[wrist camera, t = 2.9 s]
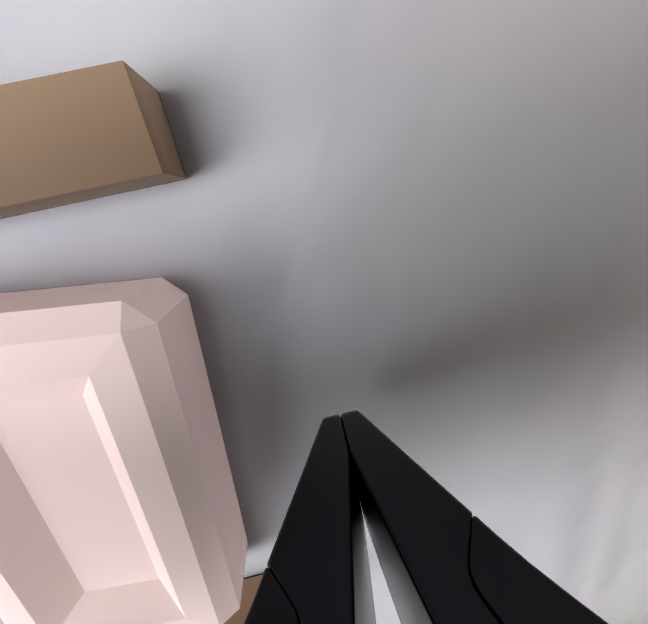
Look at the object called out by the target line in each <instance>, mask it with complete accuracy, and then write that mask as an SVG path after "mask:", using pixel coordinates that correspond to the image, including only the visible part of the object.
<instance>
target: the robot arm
mask: <svg viewBox="0 0 648 624" xmlns="http://www.w3.org/2000/svg"><path fill="white" fill-rule="evenodd" d="M357 490H358V491H357ZM359 499H360V500H359ZM360 503H361V504H360ZM361 507H362V509H361ZM362 511H363V514H362ZM363 515H364V519H365V522H366V525H367V528H368V531H369V534H370V537H371V539H372V542H373V545H374V548H375V551H376V554H377V556H378V559H379V562H380V565H381V568H382V571H383V574H384V576H385V579H386V582H387V585H388V588H389V591H390V593H391V596H392V599H393V602H394V605H395V608H396V611H397V613H398V616H399V619H400V622H401V624H608V623H607V622H606V621H604V620H603V619H602V618H600V617H599V616H598V615H596V614H595V613H594V612H592V611H591V610H590V609H589V608H587V607H586V606H585V605H583V604H582V603H581V602H579V601H578V600H577V599H575V598H574V597H573V596H571V595H570V594H569V593H568V592H566V591H565V590H564V589H562V588H561V587H560V586H559V585H557V584H556V583H555V582H553V581H552V580H551V579H550V578H548V577H547V576H546V575H544V574H543V573H542V572H541V571H539V570H538V569H537V568H536V567H534V566H533V565H532V564H530V563H529V562H528V561H527V560H526V559H525V558H523V557H522V556H521V555H520V554H519V553H518V552H516V551H515V550H514V549H513V548H512V547H510V546H509V545H508V544H507V543H506V542H505V541H503V540H502V539H501V538H500V537H499V536H498V535H496V534H495V533H494V532H493V531H492V530H491V529H490V528H489V527H487V526H486V525H485V524H484V523H483V522H482V521H481V520H480V519H479V518H477V517H476V516H473V517H472V513H471V512H470V511H469V510H468V509H467V508H466V507H465V506H464V505H463V504H462V503H460V502H459V501H458V500H457V499H456V498H455V497H454V496H453V495H451V494H450V493H449V492H448V491H447V490H446V489H445V488H444V487H443V486H441V485H440V484H439V483H438V482H437V481H436V480H435V479H434V478H432V477H431V476H430V475H429V474H428V473H427V472H426V471H425V470H423V469H422V468H421V467H420V466H419V465H418V464H417V463H416V462H415V461H413V460H412V459H411V458H410V457H409V456H408V455H407V454H406V453H404V452H403V451H402V450H401V449H400V448H399V447H398V446H397V445H396V444H394V443H393V442H392V441H391V440H390V439H389V438H388V437H387V436H385V435H384V434H383V433H382V432H381V431H380V430H379V429H378V428H376V427H375V426H374V425H373V424H372V423H371V422H370V421H369V420H368V419H366V418H365V417H364V416H363V415H362V414H361V413H360V412H358V411H351V412H347V413H343V414H342V415H341V417H340V416H339V415H334V416H330V417H326V418H324V419H323V420H322V422H321V425H320V427H319V430H318V433H317V435H316V438H315V441H314V443H313V446H312V448H311V451H310V454H309V456H308V459H307V461H306V464H305V467H304V469H303V472H302V474H301V477H300V480H299V482H298V485H297V488H296V490H295V493H294V495H293V498H292V501H291V503H290V506H289V508H288V511H287V514H286V516H285V519H284V521H283V524H282V527H281V529H280V532H279V535H278V537H277V540H276V542H275V545H274V548H273V550H272V553H271V555H270V558H269V561H268V564H267V565H268V568H266V569H265V570H264V573H263V576H262V578H261V581H260V584H259V586H258V589H257V591H256V594H255V597H254V599H253V602H252V604H251V606H250V609H249V611H248V614H247V616H246V619H245V621H244V623H243V624H376V618H375V609H374V601H373V593H372V584H371V576H370V568H369V559H368V551H367V542H366V534H365V526H364V520H363Z"/></svg>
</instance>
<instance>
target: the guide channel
mask: <svg viewBox="0 0 648 624" xmlns="http://www.w3.org/2000/svg"><path fill="white" fill-rule="evenodd" d="M184 179H186V176H185V173H184V170H183V167H182V164H181V161H180V158H179V155H178V152H177V149H176V146H175V143H174V140H173V137H172V134H171V131H170V128H169V125H168V122H167V119H166V116H165V113H164V110H163V107H162V104H161V101H160V98H159V95H158V92H157V90H156V89H155V88H154V87H153V86H151V85H150V84H149V83H148V82H147V81H146V80H144V79H143V78H142V77H141V76H140V75H139V74H138V73H136V72H135V71H134V70H133V69H132V68H131V67H129V66H128V65H127V64H126V63H125V62H124V61H119V62H114V63H109V64H104V65H99V66H94V67H89V68H84V69H79V70H74V71H69V72H64V73H59V74H54V75H49V76H44V77H39V78H34V79H29V80H24V81H19V82H14V83H8V84H3V85H0V219H1V218H6V217H11V216H15V215H20V214H25V213H29V212H34V211H39V210H43V209H48V208H53V207H57V206H62V205H67V204H72V203H76V202H81V201H86V200H90V199H95V198H100V197H104V196H109V195H114V194H118V193H123V192H128V191H133V190H137V189H142V188H147V187H151V186H156V185H161V184H165V183H170V182H175V181H180V180H184ZM262 576H263V575H259V576H255V577H251V578H247V579H243V586H242V594H241V602H240V609H239V610H238V611H236V612H235V613H234V614H233V615H232V616H231V617H230V618H229V619H228V620H227V621H226V622H225V623H224V624H243V623H244V621H245V619H246V616H247V614H248V611H249V609H250V606H251V604H252V602H253V599H254V597H255V594H256V591H257V589H258V586H259V584H260V581H261V578H262Z"/></svg>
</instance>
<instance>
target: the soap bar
mask: <svg viewBox="0 0 648 624" xmlns="http://www.w3.org/2000/svg"><path fill="white" fill-rule="evenodd" d="M247 545H248V540H247V536H246V532H245V528H244V524H243V520H242V515H241V511H240V507H239V503H238V499H237V495H236V491H235V486H234V482H233V478H232V474H231V470H230V466H229V462H228V457H227V453H226V449H225V445H224V441H223V437H222V433H221V429H220V424H219V420H218V416H217V412H216V408H215V404H214V400H213V395H212V391H211V387H210V383H209V379H208V375H207V371H206V366H205V362H204V358H203V354H202V350H201V346H200V342H199V338H198V333H197V329H196V325H195V321H194V317H193V313H192V309H191V304H190V300H189V296H188V294H186V293H185V292H183V291H182V290H180V289H179V288H178V287H176V286H175V285H173V284H172V283H170V282H169V281H167V280H166V279H164V278H163V277H158V278H148V279H138V280H128V281H118V282H108V283H97V284H87V285H77V286H67V287H57V288H46V289H36V290H26V291H16V292H6V293H0V619H1V620H2V621H3V623H4V624H224V623H225V622H226V621H227V620H228V619H229V618H230V617H231V616H232V615H233V614H234V613H235V612H236V611H238V610H239V609H240V602H241V594H242V586H243V578H244V570H245V561H246V553H247Z"/></svg>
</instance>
